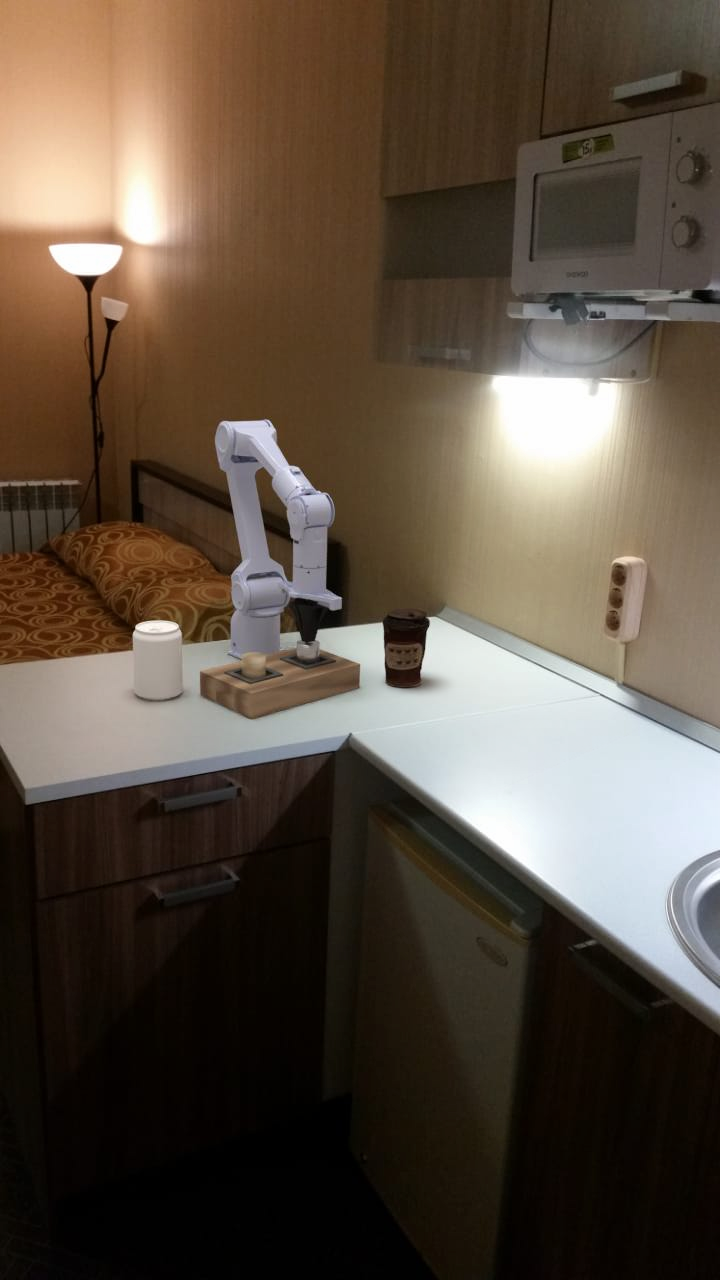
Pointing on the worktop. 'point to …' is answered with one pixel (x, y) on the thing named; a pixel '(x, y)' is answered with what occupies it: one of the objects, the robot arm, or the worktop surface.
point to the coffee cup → (404, 646)
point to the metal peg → (308, 652)
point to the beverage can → (157, 660)
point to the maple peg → (253, 665)
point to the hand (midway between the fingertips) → (308, 640)
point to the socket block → (279, 683)
